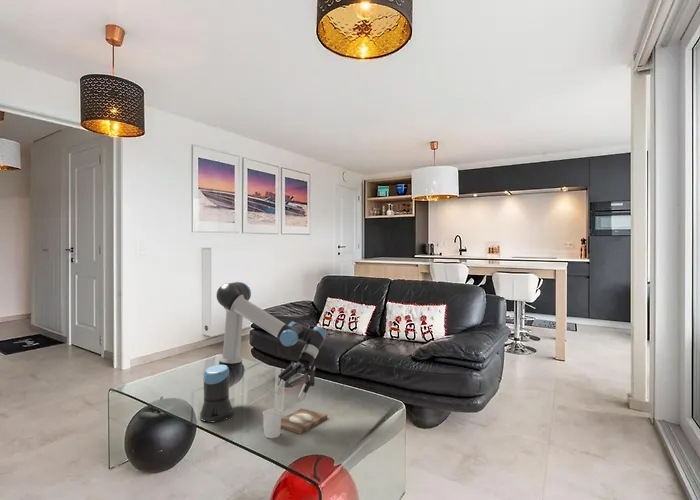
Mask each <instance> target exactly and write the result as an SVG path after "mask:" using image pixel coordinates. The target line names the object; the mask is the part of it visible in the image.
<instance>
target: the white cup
mask: <svg viewBox="0 0 700 500" xmlns="http://www.w3.org/2000/svg"><path fill="white" fill-rule="evenodd" d="M281 418H282V409H280V408H274V407H273V408H267V409H264V411H262V419H263V420H262V421H263V422H262V424H263V431H264V433H263V434H264V437H265V438H266V439H276V438H278V437H280V435H281V429H282V428H281Z"/></svg>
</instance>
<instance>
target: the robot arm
mask: <svg viewBox="0 0 700 500" xmlns="http://www.w3.org/2000/svg"><path fill="white" fill-rule="evenodd" d="M251 297H252V291H251V288H250V287H249V286H248V284H246V283H244V282H240V281H235V282H229V283H224V284H222V285H221V286H220V287H218V289H217V291H216V300H217V302H218V303H219V304H220V306H221V307H223V309H224V310H225V311H226V313H225V323H224V324H225V326H224V337H223V349H222V356H221V357H220V358H219V362H218V364H215V365H211V366H209V367H208V368H206V369H205V370H204V372H203V379H202V380H203V402H202V403H203V404H202V407H201V410H200V413H199V419H200V418H201V419H203V420H205V421H218V422H221V421H220V420H223V421H225V420H224V419H226V418H228V417H230V416H231V415H232V413H234V412H233V411H234V410H233V406H232V403H231V401H230V388H231V387H233V386H234V385H237V384H238V383H240V381H241V380H242V379H243V377H244V376H245V365H244V364H243V358H242V357H241V347H242V346H241V343H242V334H243V333H242V331H243V319H246V320H248V321H250V322H251V323H253V324H254V325H256V326H258V327H259V328H261V329H263V330H264V331H266V332H267V333H269V334H271V336H274V337H275V338H277V339H278V340H279V341H280V343H281V345H283V346H284V347H291V346H294V345H295V344H296V343H297V342H299V341H300V342H302V343H305V345H304V346H303V348H302V350H301V353H300V354H299V356H298V359H297V361H296V362H294V361H291V362H290V363H289V365H288V366H287V367H286V368H285V369H284V370H283V371H282V372H281V373H279V375H278V378H279V379H280V380H279V382H278V384H277V387H276V390H275V392H274V393H275V394H277V395H278V396H279V395H280V394H281V393H282V391H283V389H284V387H285V384H286V381H287V380H288V379H290V378H291V377H293V376H295V375H297V374H301V375H303V376H304V381H305V383H303V385H302V387H301V389H300V392H299V394H298V396H297V398H298V400H300V401H303V399H304V398H305V395H306V393H307V394H308V391H309V388H310V387H314V386H315V377H316V373H315V371H316V370H317V367H316V366H315V365H314V362H315V360H316V358H317V356H318V354H319V351H320V350H321V348H322V346H323V345H324V342H325V339H326V336H327V331H326V329H325V328H323V327H322V326H314V327H313V328H310V327H307V326H305V325H303V324H300V323H299V322H295V321H290V323H288V324H286V323H285V322H283V321H281V320H280V319H278V318H277V317H275V316H274V315H272V314H271V313H269V312H267V311H266V310H264V309H262V308H260V307H259V306H257V305H256V304H254V303H252V302H250V301H249V300H250V299H251ZM232 416H233V415H232ZM232 416H231V417H232ZM231 417H230V418H231ZM228 419H229V418H228ZM226 420H227V419H226Z"/></svg>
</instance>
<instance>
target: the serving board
mask: <svg viewBox="0 0 700 500" xmlns="http://www.w3.org/2000/svg"><path fill="white" fill-rule="evenodd" d="M326 419H328V414H327V413H321V412H318V411H314V410H309V409H306V408H302V407H301V408H299V409H297V410H295V411H293V412H291V413H290V414H288V415H286V416H283V417H281V428H280V429H283V430H286V431H290V432H293V433H296V434H300V435H301V434H303V433H305V432H306V431H308V430H310V429H311V428H313V427H315V426H316V425H318V424H320V423H322V422H323V421H325V420H326Z"/></svg>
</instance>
